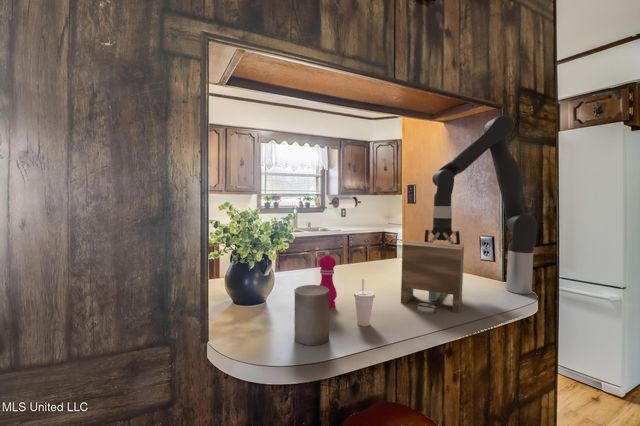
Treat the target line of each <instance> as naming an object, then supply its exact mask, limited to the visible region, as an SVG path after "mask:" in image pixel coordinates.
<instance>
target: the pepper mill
mask: <svg viewBox="0 0 640 426" xmlns="http://www.w3.org/2000/svg"><path fill="white" fill-rule="evenodd" d="M336 262H337V261H336V259H335V257H333V256H332V255H331V252H330V251H328V250H327V251H325V252H324V255H323V256H320V258H319V260H318V266H319V267H320V269H319V270H320V271H319V273H320V275H321V280H320V283H319V285H320V286H324V287H327V288H328V289H329V310H334V309H335V308H336V301H335V300H336V299H337V296H338V293H337V289H336V287H335V284H334V281H333V276H334V274H335V269H334V268H335V267H336V265H337V264H336Z"/></svg>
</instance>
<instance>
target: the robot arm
mask: <svg viewBox="0 0 640 426" xmlns="http://www.w3.org/2000/svg"><path fill="white" fill-rule="evenodd" d="M514 129H515V120H514V119H513V118H512V117H511V116H509V115H505V114H504V115H498V116H496V117H494V118H493V119H491V120H488V121H487V123H486V124H485V125H484V128H483V133H482V134H481V135H480V136H479V137H478V138H477V139H475V140H474V141H472V142H470V144H469V145H467V146H466V147H464V148H463V149H461V150H460V151H459V152H458V153H457V154H456V155H455V156H454V157H452V158H451V159H450V161H449V162H447V163H445V165H443V166H442V167H440V168H439V169H438V170H436V172H435V173H433V175H432V179H431V181H432V183H433V185H435V186H436V192H435V193H434V195H433V210H432V211H433V212H432V229H426V230H424V240H423V242H432V243H435V241H436V240H437V241H443V242H444V241H448V244H457V245H461V237H460V235H461V234H460V233H461V232H460V230H453V228H452V223H453V222H452V221H453V212H452V211H453V210H452V195H453V190H454V186H455V177H456V176H457V175H460V174H462V173H463V172H464V171H466V169H468V168H469V167H470V166H471V165H472V164H473V163H475V162H476V161H477V160H478V158H480V157H481V156H482V155H483V154H484V153H486V152H487V151H488V150H489V151H490V155H491V159H492V162H493V167H494V172H495V177H496V181H497V185H498V187H499V192H500V196H501V199H502V202H503V206H504V207H503V208H504V214H505V223H506V227H507V229H508V231H509V232H510V233H511V234H512V236H511V237H512V238H511V241H510V243H508V246H507V267H506V268H507V269H506V286H505V287H506V288H505V289H506V291H507V292H511V293H515V294H520V295H521V294H522V295H531V294H532V286H533V270H534V269H533V267H534V265H533V264H534V263H533V262H534V249H535V247H536V245H537V237H538V223H537V222H538V221H537V220H536V219H535V217H534V216H532V215H530V214H526V211H525V207H524V205H523V192H524V191H523V189H524V179H523V175H522V174H523V173H522V171H521V167H520V165H519V162H517V160H516V159H515V157H514V155H512V153H511V151H510V149H509V147H508V143H507V142H508V141H507V137H508V136H510V135H511V134H512V133H513V131H514ZM429 235H432V236H433V237H432V239H430V240H429V238H430V237H429ZM452 235H453V236H454V237H455V241H454V239H452V237H451V236H452Z"/></svg>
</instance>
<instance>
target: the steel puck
mask: <svg viewBox="0 0 640 426" xmlns="http://www.w3.org/2000/svg"><path fill="white" fill-rule="evenodd" d="M416 306H417V307H416V308H417V309H416V310H418V311H419V313H420V312H422V313H421V314H424V313H426V314H425V315H433V314H436V306H435V305H434V304H431V303H427V302H426V303H425V302H422V303H421V302H420V303H417V305H416ZM418 311H417V312H418Z"/></svg>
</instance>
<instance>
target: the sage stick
mask: <svg viewBox="0 0 640 426" xmlns="http://www.w3.org/2000/svg"><path fill="white" fill-rule="evenodd" d="M441 294H442V293H438V292H431V291H428V301H433V302H436V301H438V298H439V297H440V296H441Z"/></svg>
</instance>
